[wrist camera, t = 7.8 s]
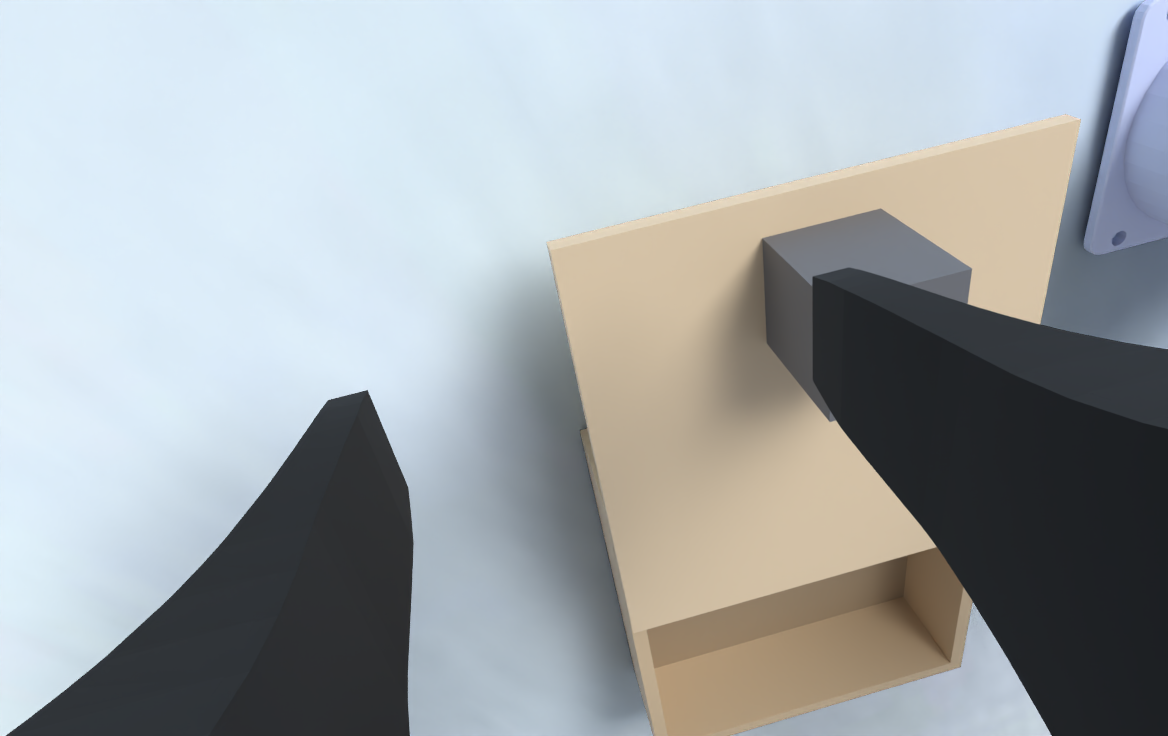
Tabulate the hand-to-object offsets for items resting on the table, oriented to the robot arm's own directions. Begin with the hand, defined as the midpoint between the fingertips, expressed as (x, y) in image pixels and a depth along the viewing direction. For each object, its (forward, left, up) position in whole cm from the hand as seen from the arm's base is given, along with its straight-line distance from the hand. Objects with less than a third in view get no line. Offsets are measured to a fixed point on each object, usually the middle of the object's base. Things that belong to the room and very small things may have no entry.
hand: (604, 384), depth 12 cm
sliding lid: (-7, +7, -6) cm, 12 cm away
